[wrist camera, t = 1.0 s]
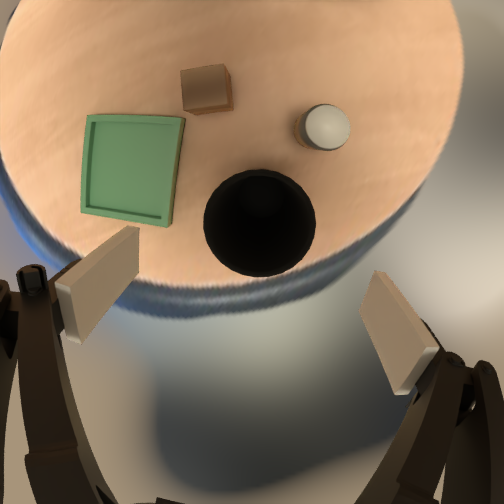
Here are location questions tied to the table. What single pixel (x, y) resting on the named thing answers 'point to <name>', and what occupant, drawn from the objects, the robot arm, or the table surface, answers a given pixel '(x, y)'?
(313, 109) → the pepper shaker
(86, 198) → the tray
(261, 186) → the cup
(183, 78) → the walnut block
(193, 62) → the table surface
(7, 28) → the table surface
